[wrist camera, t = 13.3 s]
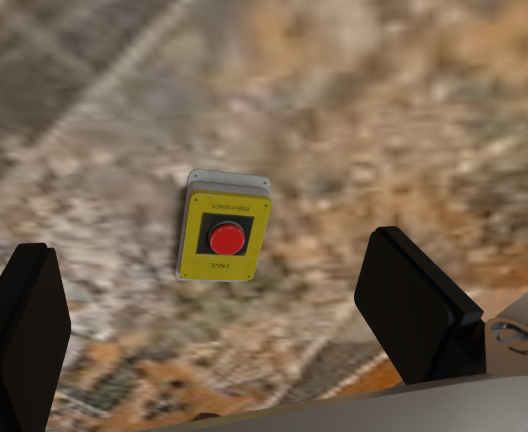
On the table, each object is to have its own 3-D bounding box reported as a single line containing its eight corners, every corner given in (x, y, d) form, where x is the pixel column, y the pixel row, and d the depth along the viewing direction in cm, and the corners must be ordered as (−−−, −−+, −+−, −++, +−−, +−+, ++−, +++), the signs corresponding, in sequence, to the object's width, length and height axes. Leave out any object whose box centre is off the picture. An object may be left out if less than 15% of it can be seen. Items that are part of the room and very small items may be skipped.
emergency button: (281, 192, 39) (252, 301, 46) (271, 175, 42) (245, 279, 49) (191, 183, 36) (175, 301, 43) (189, 165, 40) (174, 277, 46)
